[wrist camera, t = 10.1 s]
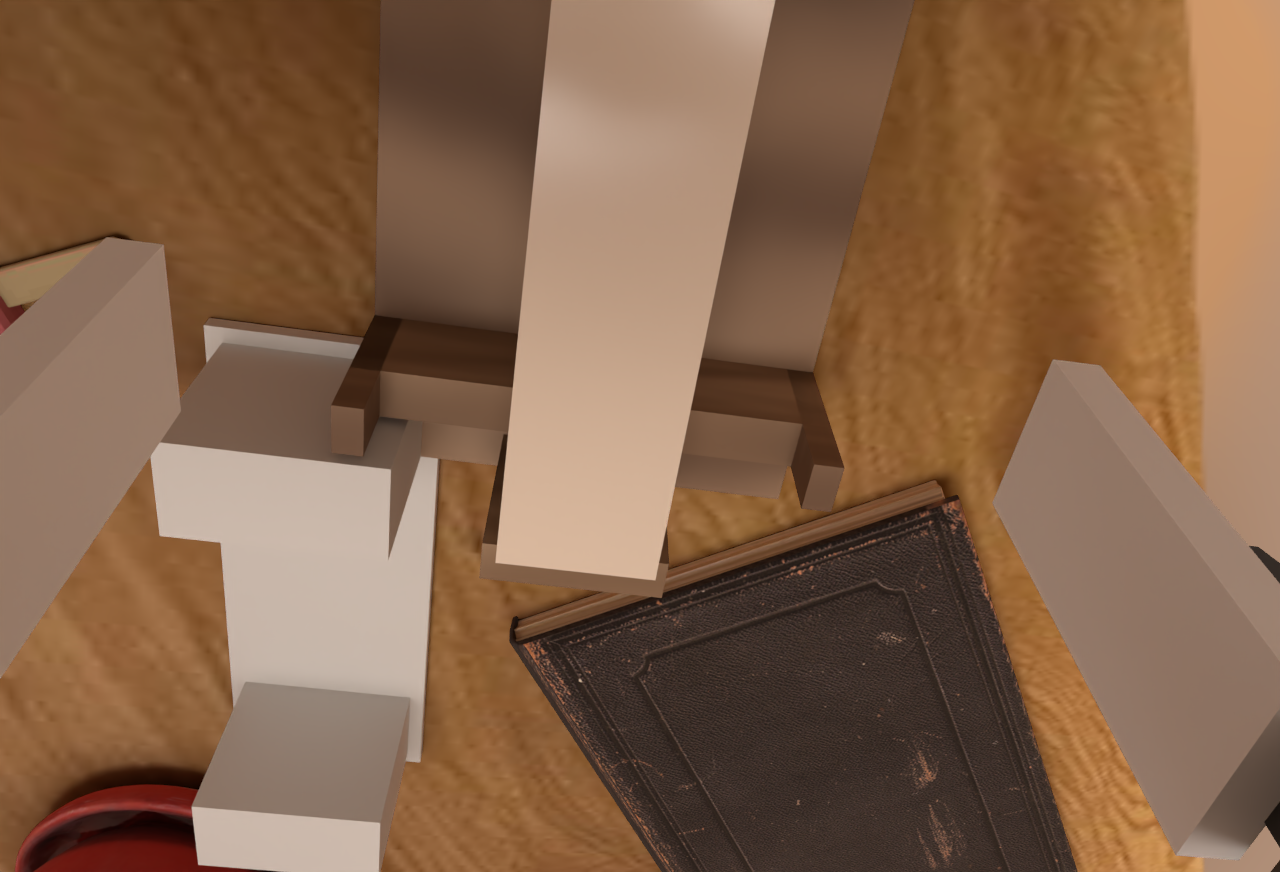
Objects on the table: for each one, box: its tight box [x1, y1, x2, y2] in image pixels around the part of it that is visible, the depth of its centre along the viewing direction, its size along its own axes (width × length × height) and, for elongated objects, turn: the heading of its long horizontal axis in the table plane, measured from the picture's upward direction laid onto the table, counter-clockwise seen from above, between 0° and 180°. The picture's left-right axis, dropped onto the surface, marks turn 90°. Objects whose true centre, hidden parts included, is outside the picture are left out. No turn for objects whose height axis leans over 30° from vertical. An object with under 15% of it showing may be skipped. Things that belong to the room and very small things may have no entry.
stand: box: [151, 318, 440, 872], centre depth 33 cm, size 18×7×6 cm, turn 171°
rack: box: [331, 0, 914, 598], centre depth 25 cm, size 21×13×6 cm, turn 171°
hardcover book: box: [510, 480, 1077, 872], centre depth 40 cm, size 16×23×2 cm
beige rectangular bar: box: [495, 0, 775, 580], centre depth 23 cm, size 17×4×4 cm, turn 171°
